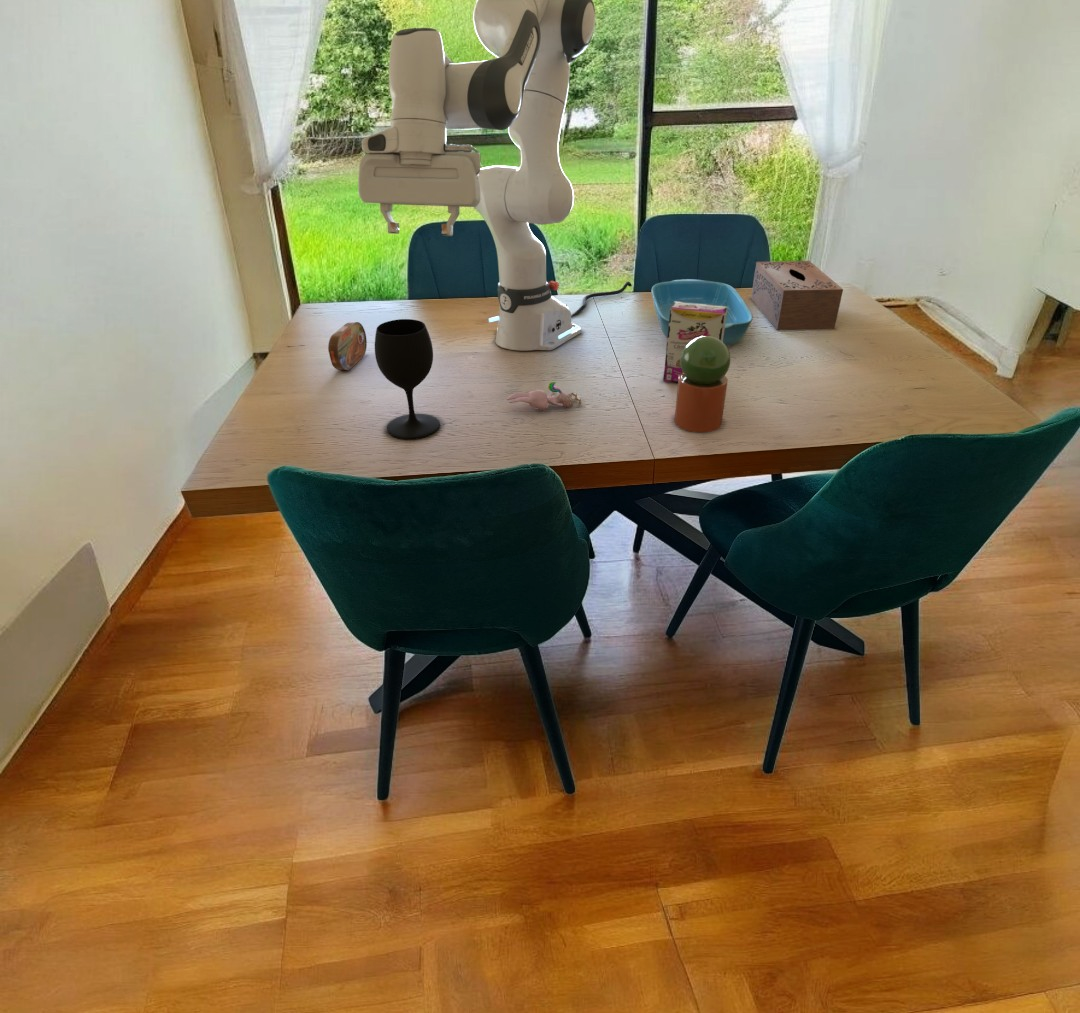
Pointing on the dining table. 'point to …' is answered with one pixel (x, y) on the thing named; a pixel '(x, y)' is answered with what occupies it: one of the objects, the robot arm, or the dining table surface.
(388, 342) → the wine glass
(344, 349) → the tin
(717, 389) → the potted herb
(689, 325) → the candy bar box
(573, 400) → the rabbit figure
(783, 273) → the tissue box cover
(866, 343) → the dining table surface
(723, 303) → the casserole dish
